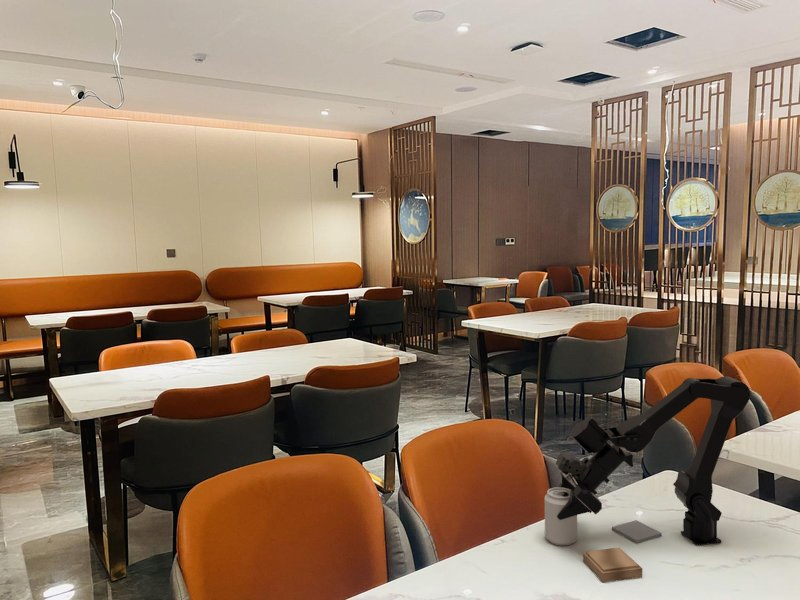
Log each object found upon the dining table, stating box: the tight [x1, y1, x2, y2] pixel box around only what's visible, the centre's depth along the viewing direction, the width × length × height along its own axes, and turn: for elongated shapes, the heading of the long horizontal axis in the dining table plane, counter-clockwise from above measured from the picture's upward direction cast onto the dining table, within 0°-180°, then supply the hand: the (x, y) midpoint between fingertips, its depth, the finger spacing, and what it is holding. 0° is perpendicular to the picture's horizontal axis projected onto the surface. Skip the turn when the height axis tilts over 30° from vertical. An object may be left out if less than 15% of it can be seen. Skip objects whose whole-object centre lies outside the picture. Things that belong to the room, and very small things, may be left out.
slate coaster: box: [611, 519, 663, 544], centre depth 150 cm, size 8×8×1 cm
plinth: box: [582, 546, 643, 583], centre depth 134 cm, size 9×9×2 cm
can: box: [544, 486, 578, 547], centre depth 147 cm, size 8×8×12 cm
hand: (554, 511), depth 147 cm, fingers closed on can, 7 cm apart
